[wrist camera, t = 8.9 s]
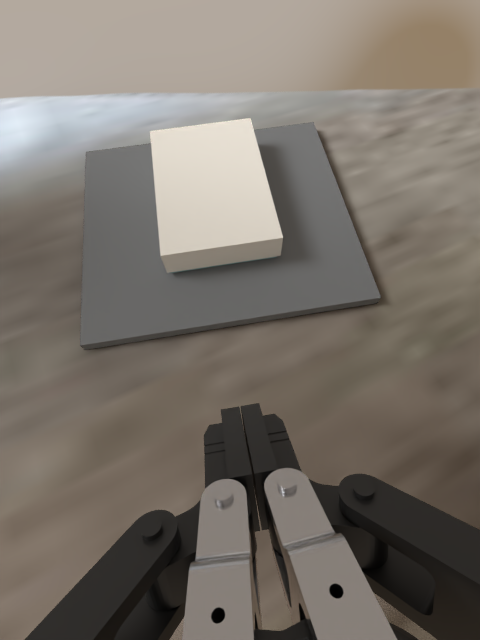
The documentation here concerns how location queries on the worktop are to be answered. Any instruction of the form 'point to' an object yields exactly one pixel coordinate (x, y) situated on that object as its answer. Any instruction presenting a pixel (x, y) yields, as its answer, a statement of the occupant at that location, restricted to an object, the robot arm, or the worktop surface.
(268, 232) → the tile
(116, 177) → the mat
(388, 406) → the worktop surface
